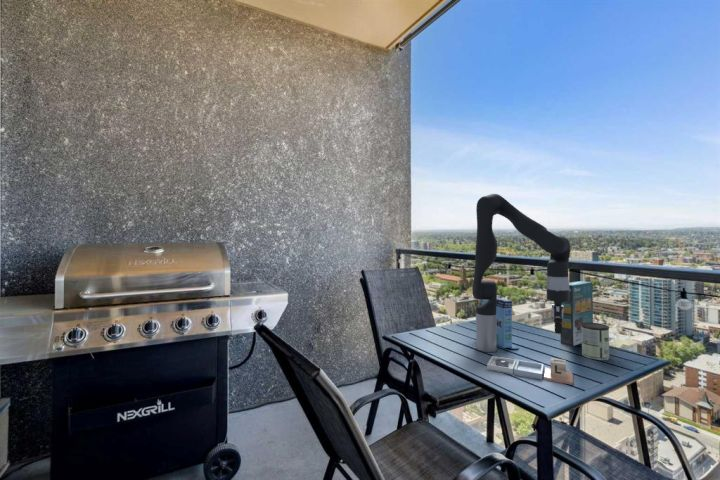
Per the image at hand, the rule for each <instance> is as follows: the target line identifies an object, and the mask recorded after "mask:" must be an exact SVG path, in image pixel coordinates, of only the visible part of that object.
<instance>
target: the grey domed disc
mask: <svg viewBox="0 0 720 480" xmlns="http://www.w3.org/2000/svg"><path fill="white" fill-rule="evenodd" d="M496 366H502V367H509V361H507V360H504V359H496Z"/></svg>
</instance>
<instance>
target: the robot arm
mask: <svg viewBox="0 0 720 480" xmlns="http://www.w3.org/2000/svg"><path fill="white" fill-rule="evenodd" d="M475 209H476V242H475V259H474V265H475V266H474V272H473V281H472V291H471V292H472V296H473V298H474V299H475V300H481V299H482V300H488V302H487V303H485V304H483V305H478V306H477V307H476V309H475V329H476V330H475V332H476V335H475V336H476V338H475V341H476V343H475V344H476V345H475V347H476V350H478V351H480V352H484V353H494V352H497V351H498V349H497V346H498V345H497V324H496V303H497V296H498V285H497V282H496V281H495V280H492V279H491V280H486V279H485V280H483V278H484V275H485V274H486V272H487V270H488V269H489V268H491V266H492V265H493V264H494V262H495V260H496V259H497V255H498V242H497V241H498V240H497V237H496V235H495V233H494V231H493V219H494V216H495V215H500V216H501V217H504V218H506V219H507V220H508V221H509V222H510V223H511V225H513V227H514V228H515V229H516V230H517V232H518V233H520V234H521V235H523V236H524V237H526V238H527V239H529V240H531V241H532V242H534V243H535V244H536V245H538V247H540V248H541V249H542V250H543V251H544V252H547V253H548V254H549V255H550V256H549V261H548V262H547V266H546V281H545V282H546V283H545V284H546V300H547V301H550V302H553V303H554V304H551V310H552V318H553V324H554V333H555V334H559V335H561V333H562V318H563V311H564V305H561V303H562V302H568V301H569V283H570V280H569V262H570V261H569V260H570V255H571V243H570V241H569V239H568V238H566V237H565V236H561V235H556V234H554V233H552V232H551V231H549V230H548V229H547V228H546V226H544V225H542V224H541V223H540V222H537V221H536V220H535V219H532V218H531V217H529V216H528V215H527V214H525V213H523V212H522V211H520V210H519V209H518V208H516V207H515V206H514V205H513V204H512V203H510V202H509V201H508V200H507V199H506V198H505V197H503V196H502V195H501V194H498V193H490V194H487V195H484V196H481V197H480V198H479V199H478V200H477V203H476V207H475Z"/></svg>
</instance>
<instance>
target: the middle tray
mask: <svg viewBox="0 0 720 480" xmlns="http://www.w3.org/2000/svg"><path fill="white" fill-rule="evenodd" d="M516 360H517V363H516V365H515V368H514V373H513V375H514V376H520V377H525V378H530V379H535V380H541V381H542V380H543V378H544V371H545V367H544V363H542V362H541V363H539V362H535V361H534V362H533V361H528V360H521V359H516Z"/></svg>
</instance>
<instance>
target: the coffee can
mask: <svg viewBox="0 0 720 480" xmlns="http://www.w3.org/2000/svg"><path fill="white" fill-rule="evenodd" d="M581 326H582V343H581V355H582V356H583V357H584V358H587V359H592V360H596V361H608V360H609V359H610V330H609V329H610V326H609V325H607V324H604V323H600V322H599V323H598V322H593V323H590V322H586V323H581Z"/></svg>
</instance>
